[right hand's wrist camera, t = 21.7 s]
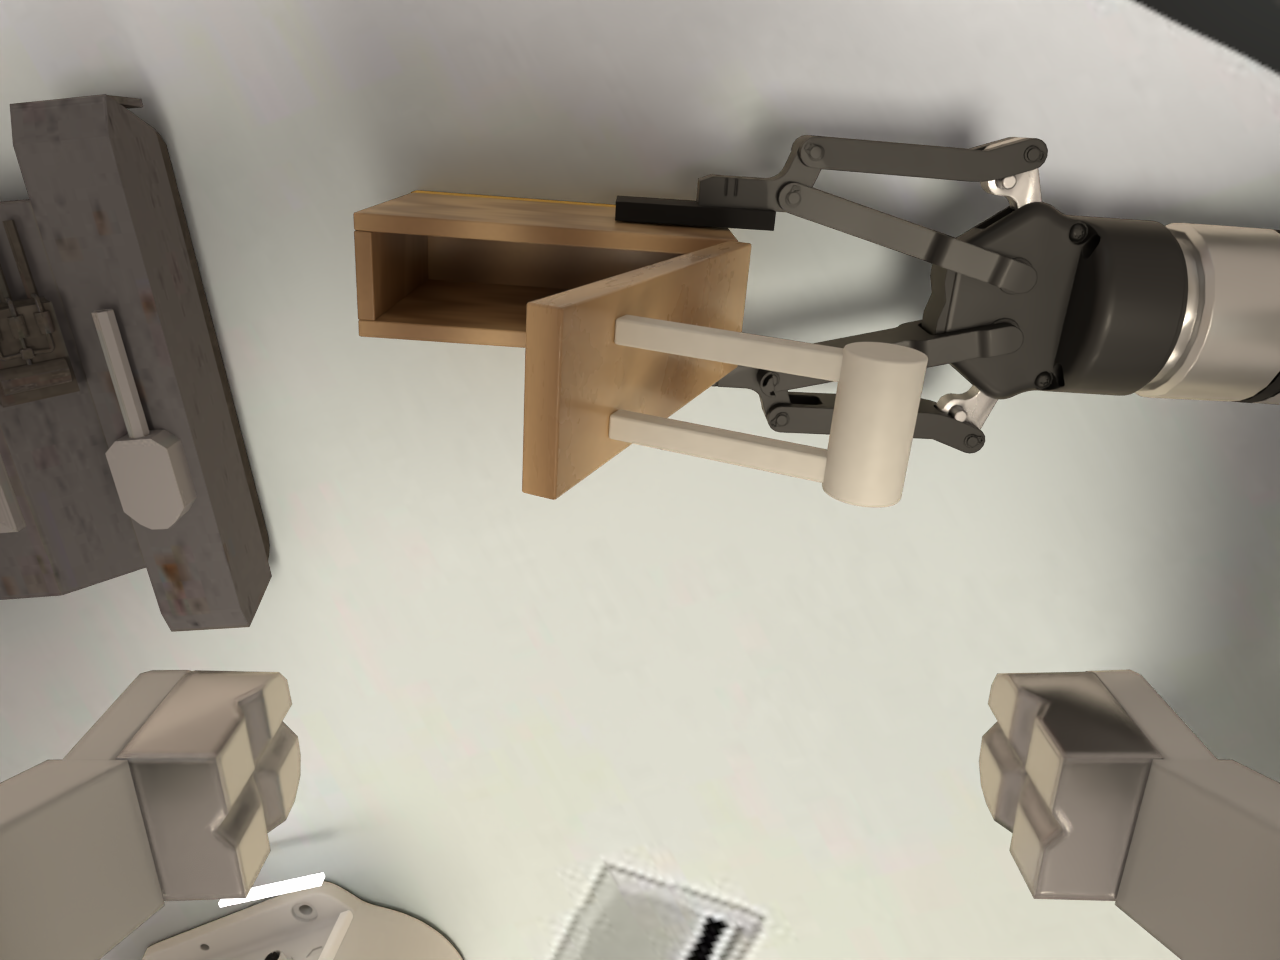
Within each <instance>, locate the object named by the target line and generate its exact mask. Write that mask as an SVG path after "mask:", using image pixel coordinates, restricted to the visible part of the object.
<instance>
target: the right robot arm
mask: <svg viewBox="0 0 1280 960" xmlns="http://www.w3.org/2000/svg"><path fill="white" fill-rule="evenodd" d="M291 705H292V701H291V696H290V691H289V687H288V682H287V679H286V678H285V677H284V676H283V675H282V674H281V673H279V672H245V671H196V670H195V671H189V670H152V671H148V672H145V673H141V674H139V676H138V677H137V678H136V679H135V680H134V681H133V682H132V683H131V684H130V685H129V686H128V688H127V689H126V690H125V691H124V692H123V693H122V694H121V695H120V696H119V698H118V699H117V700H116V701H115V702H114V703H113V704H112V705H111V706H110V708H109V709H108V710H107V711H106V712H105V713H104V714H103V715H102V716H101V717H100V719H99V720H98V721H97V722H96V723H95V724H94V725H93V726H92V727H91V729H90V730H89V731H88V732H87V733H86V734H85V735H84V736H83V737H82V739H81V740H80V741H79V742H78V743H77V744H76V745H75V746H74V747H73V748H72V750H71V751H70V752H69V753H68V754H67V755H66V756H65V757H64V758H63V760H46V761H44V762H42V763H40V764H38V765H36V766H34V767H32V768H30V769H28V770H26V771H24V772H22V773H20V774H18V775H16V776H14V777H12V778H10V779H8V780H6V781H4V782H1V783H0V960H99V959H100V958H102V957H103V956H104V955H105V954H106V953H108V952H109V951H110V950H111V949H113V948H114V947H115V946H116V945H117V944H119V943H120V942H121V941H122V940H123V939H125V938H126V937H127V936H128V935H129V934H131V933H132V932H133V931H134V930H135V929H137V928H138V927H139V926H140V925H141V924H143V923H144V922H145V921H146V920H148V919H149V918H150V917H151V916H152V915H154V914H155V913H156V912H157V911H158V910H160V909H161V908H162V907H163V906H164V905H165V903H164V901H178V900H213V899H221V900H220V901H219V903H218V904H219V906H220V907H224V906H229V905H233V904H238V903H243V902H247V901H252V900H257V899H261V898H266V897H271V896H275V895H279V896H277V897H274V898H272V899H269V900H266V901H264V902H261V903H259V904H256V905H253V906H251V907H248V908H246V909H243V910H241V911H238V912H235V913H233V914H230V915H228V916H225V917H223V918H220V919H217V920H215V921H212V922H210V923H207V924H204V925H202V926H199V927H197V928H194V929H192V930H189V931H186V932H184V933H181V934H179V935H176V936H174V937H171V938H168V939H166V940H163V941H161V942H158V943H156V944H154V945H152V946H150V947H148V948H147V950H146V952H145V954H144V956H143V958H142V960H463V959H462V958H461V956H460V954H459V953H458V952H457V950H456V949H455V948H454V946H453V945H452V944H451V943H450V942H449V941H448V940H447V939H446V938H445V937H444V936H442V935H441V934H440V933H439V932H437V931H436V930H435V929H433V928H432V927H430V926H429V925H427V924H425V923H424V922H422V921H420V920H418V919H416V918H414V917H412V916H409V915H407V914H404V913H401V912H398V911H395V910H392V909H388V908H384V907H380V906H376V905H373V904H370V903H367V902H364V901H362V900H360V899H359V898H357V897H356V896H354V895H353V894H351V893H350V892H348V891H346V890H345V889H343V888H341V887H339V886H337V885H335V884H333V883H330V882H326V881H323V880H324V878H325V875H324V873H319V874H314V875H310V876H305V877H300V878H296V879H291V880H286V881H282V882H277V883H273V884H268V885H263V886H259V887H254V888H252V886H253V884H254V882H255V880H256V878H257V876H258V874H259V872H260V870H261V868H262V866H263V864H264V863H265V861H266V859H267V857H268V855H269V853H270V851H271V850H270V845H269V840H268V834H267V833H268V832H270V831H271V830H273V829H274V828H275V827H277V826H278V825H280V824H281V823H283V822H284V821H285V820H286V819H287V817H288V814H289V812H290V810H291V808H292V806H293V804H294V802H295V798H296V794H297V789H298V784H299V780H300V771H301V754H300V748H299V741H298V736H297V735H296V734H295V733H294V732H293V731H292V730H291V729H290V728H289V727H288V726H287V725H286V724H285V723H284V722H283V719H284V717H285V716H286V714H287V712H288V710H289V709H290V707H291ZM988 705H989V707H990V709H991V710H992V712H993V714H994V716H995V717H996V719H997V722H996V723H995V724H994V725H993V726H992V727H991V728H990V729H989V730H988V731H987V732H986V733H985V734H984V735H983V736H982V742H981V750H980V757H979V768H980V780H981V787H982V791H983V794H984V798H985V801H986V804H987V806H988V808H989V810H990V812H991V815H992V817H993V819H994V820H995V821H996V822H997V823H999V824H1000V825H1002V826H1003V827H1005V828H1006V829H1007V830H1009V831H1010V832H1012V833H1013V834H1012V840H1011V845H1010V850H1009V851H1010V853H1011V855H1012V857H1013V859H1014V861H1015V862H1016V864H1017V866H1018V868H1019V870H1020V872H1021V874H1022V876H1023V878H1024V880H1025V882H1026V884H1027V886H1028V888H1029V890H1030V892H1031V894H1032V896H1033V898H1034V899H1065V900H1101V901H1116V902H1115V905H1116V906H1117V907H1118V908H1120V909H1121V910H1122V911H1123V912H1124V913H1126V914H1127V915H1128V916H1129V917H1130V918H1132V919H1133V920H1134V921H1135V922H1136V923H1138V924H1139V925H1140V926H1141V927H1143V928H1144V929H1145V930H1146V931H1147V932H1149V933H1150V934H1151V935H1152V936H1153V937H1155V938H1156V939H1157V940H1158V941H1159V942H1161V943H1162V944H1163V945H1164V946H1165V947H1167V948H1168V949H1169V950H1170V951H1171V952H1173V953H1174V954H1175V955H1176V956H1177V957H1179V958H1180V959H1181V960H1280V783H1278V782H1276V781H1274V780H1272V779H1270V778H1268V777H1266V776H1264V775H1262V774H1260V773H1258V772H1256V771H1254V770H1252V769H1250V768H1248V767H1246V766H1244V765H1242V764H1240V763H1238V762H1236V761H1234V760H1217V758H1216V757H1215V756H1214V755H1213V754H1212V753H1211V752H1210V751H1209V750H1208V749H1207V747H1206V746H1205V745H1204V744H1203V743H1202V742H1201V741H1200V740H1199V739H1198V737H1197V736H1196V735H1195V734H1194V733H1193V732H1192V731H1191V730H1190V729H1189V727H1188V726H1187V725H1186V724H1185V723H1184V722H1183V721H1182V720H1181V719H1180V717H1179V716H1178V715H1177V714H1176V713H1175V712H1174V711H1173V710H1172V709H1171V707H1170V706H1169V705H1168V704H1167V703H1166V702H1165V701H1164V700H1163V699H1162V698H1161V696H1160V695H1159V694H1158V693H1157V692H1156V691H1155V690H1154V689H1153V688H1152V686H1151V685H1150V684H1149V683H1148V682H1147V681H1146V680H1145V679H1144V678H1143V676H1142V675H1140V674H1138V673H1136V672H1134V671H1132V670H1105V671H1085V672H1051V673H997V675H996V677H995V679H994V681H993V683H992V685H991V690H990V695H989V700H988ZM280 894H282V895H280Z"/></svg>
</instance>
